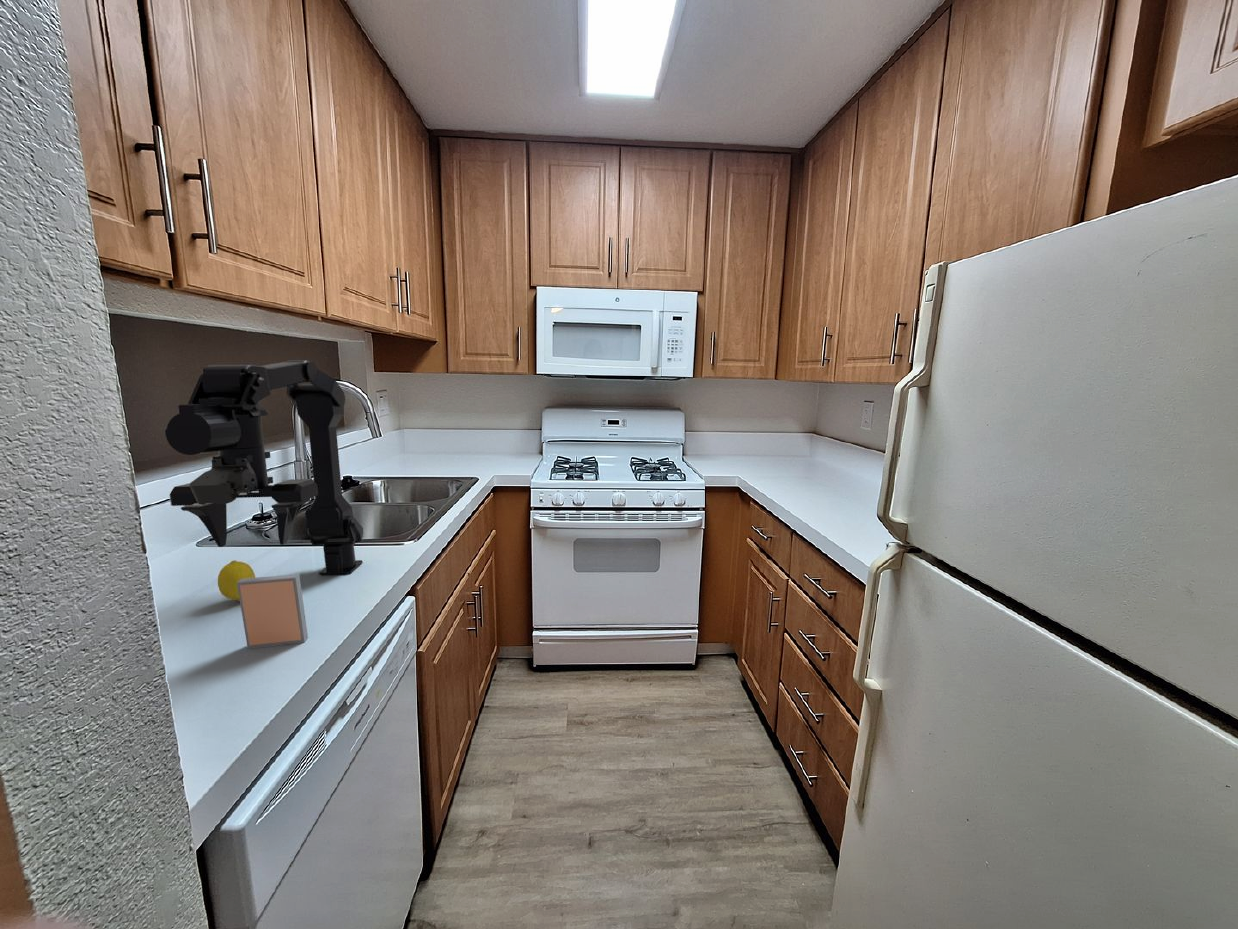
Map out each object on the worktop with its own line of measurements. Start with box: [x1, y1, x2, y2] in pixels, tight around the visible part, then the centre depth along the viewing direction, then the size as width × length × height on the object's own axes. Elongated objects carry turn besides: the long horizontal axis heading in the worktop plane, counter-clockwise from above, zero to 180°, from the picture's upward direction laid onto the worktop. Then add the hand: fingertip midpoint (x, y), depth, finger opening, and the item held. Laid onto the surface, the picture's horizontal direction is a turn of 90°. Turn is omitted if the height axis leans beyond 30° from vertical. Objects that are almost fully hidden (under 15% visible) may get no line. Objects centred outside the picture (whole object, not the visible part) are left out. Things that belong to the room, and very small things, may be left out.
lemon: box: [217, 559, 256, 602], centre depth 92 cm, size 6×6×8 cm
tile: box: [237, 573, 309, 649], centre depth 78 cm, size 2×8×11 cm, turn 102°
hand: (253, 545), depth 79 cm, fingers open, 9 cm apart
